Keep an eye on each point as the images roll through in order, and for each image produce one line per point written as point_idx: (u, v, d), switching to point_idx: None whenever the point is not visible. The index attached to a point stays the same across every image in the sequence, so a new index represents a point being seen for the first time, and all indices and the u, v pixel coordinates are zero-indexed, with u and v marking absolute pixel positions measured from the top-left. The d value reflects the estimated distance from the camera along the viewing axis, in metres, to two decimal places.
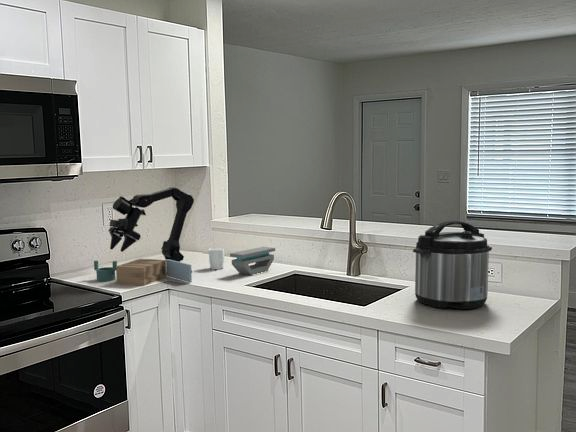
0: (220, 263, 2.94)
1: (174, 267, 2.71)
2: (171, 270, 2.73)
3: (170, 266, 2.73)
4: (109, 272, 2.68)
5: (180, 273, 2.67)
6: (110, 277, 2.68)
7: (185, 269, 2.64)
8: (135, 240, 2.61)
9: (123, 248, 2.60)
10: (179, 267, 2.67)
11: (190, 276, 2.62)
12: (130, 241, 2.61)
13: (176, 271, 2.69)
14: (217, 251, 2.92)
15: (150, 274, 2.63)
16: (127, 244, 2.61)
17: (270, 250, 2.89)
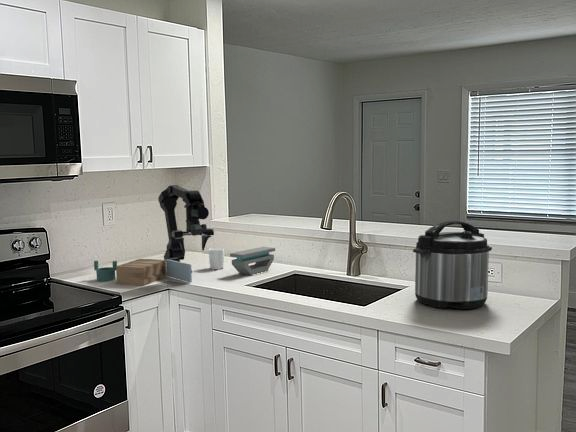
0: (220, 263, 2.94)
1: (174, 267, 2.71)
2: (171, 270, 2.73)
3: (170, 266, 2.73)
4: (109, 272, 2.68)
5: (180, 273, 2.67)
6: (110, 277, 2.68)
7: (185, 269, 2.64)
8: None
9: None
10: (179, 267, 2.67)
11: (190, 276, 2.62)
12: None
13: (176, 271, 2.69)
14: (217, 251, 2.92)
15: (150, 274, 2.63)
16: None
17: (270, 250, 2.89)
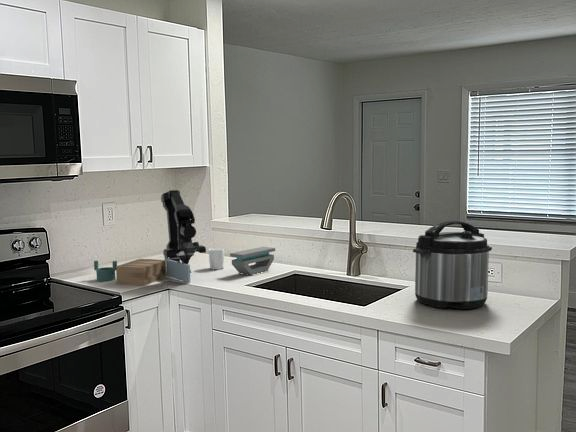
0: (220, 263, 2.94)
1: (174, 267, 2.70)
2: (171, 270, 2.73)
3: (170, 266, 2.73)
4: (109, 272, 2.68)
5: (179, 274, 2.67)
6: (110, 277, 2.68)
7: (184, 269, 2.63)
8: None
9: None
10: (178, 267, 2.67)
11: (189, 276, 2.62)
12: None
13: (175, 271, 2.69)
14: (217, 251, 2.92)
15: (150, 274, 2.63)
16: None
17: (270, 250, 2.89)
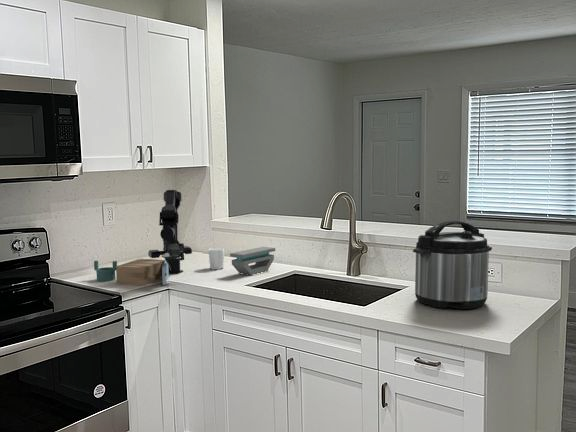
0: (220, 263, 2.94)
1: None
2: None
3: None
4: (109, 272, 2.68)
5: None
6: (110, 277, 2.68)
7: None
8: None
9: None
10: None
11: (163, 279, 2.57)
12: None
13: None
14: (217, 251, 2.92)
15: (150, 274, 2.63)
16: None
17: (270, 250, 2.89)
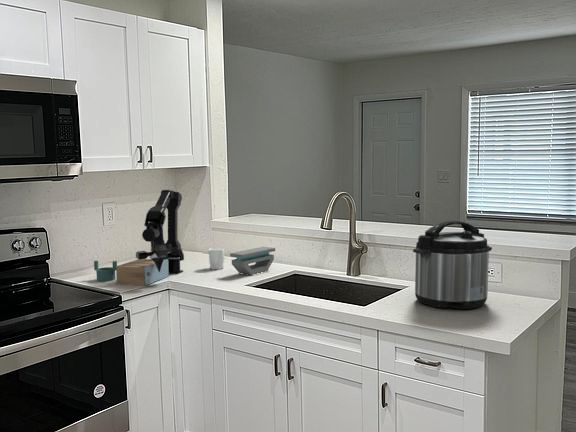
0: (220, 263, 2.94)
1: None
2: None
3: None
4: (109, 272, 2.68)
5: None
6: (110, 277, 2.68)
7: None
8: None
9: None
10: None
11: (145, 278, 2.58)
12: None
13: None
14: (217, 251, 2.92)
15: None
16: None
17: (270, 250, 2.89)
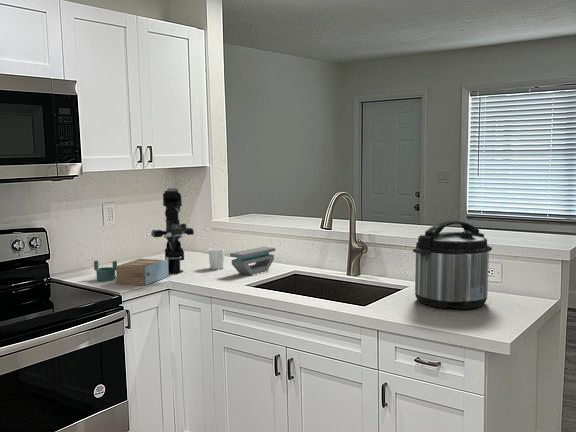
0: (220, 263, 2.94)
1: None
2: None
3: None
4: (109, 272, 2.68)
5: None
6: (110, 277, 2.68)
7: None
8: None
9: None
10: None
11: (145, 278, 2.58)
12: None
13: None
14: (217, 251, 2.92)
15: None
16: None
17: (270, 250, 2.89)
